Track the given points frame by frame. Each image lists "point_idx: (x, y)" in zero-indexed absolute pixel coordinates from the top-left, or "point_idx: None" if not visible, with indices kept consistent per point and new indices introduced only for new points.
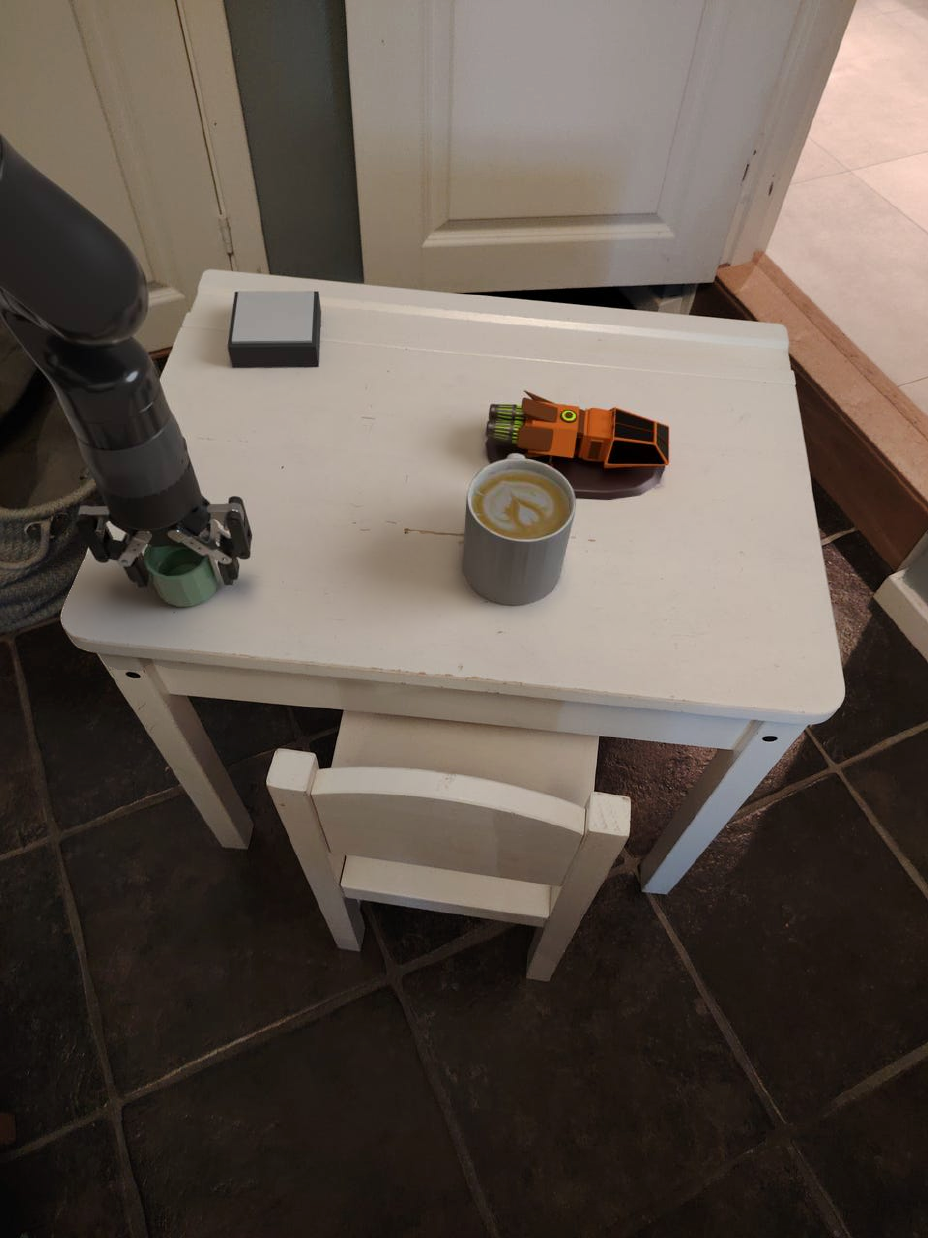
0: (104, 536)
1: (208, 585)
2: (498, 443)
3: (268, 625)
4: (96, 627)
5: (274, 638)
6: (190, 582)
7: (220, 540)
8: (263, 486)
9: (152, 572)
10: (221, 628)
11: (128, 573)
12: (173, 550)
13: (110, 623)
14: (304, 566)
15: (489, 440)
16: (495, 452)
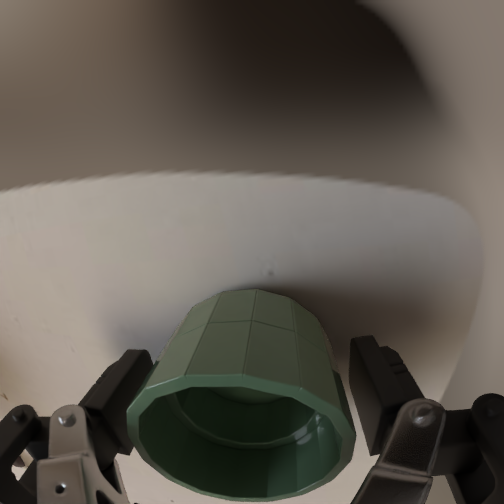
0: (471, 476)
1: (163, 349)
2: None
3: (57, 250)
4: (449, 215)
5: (41, 219)
6: (171, 358)
7: (102, 472)
8: (184, 490)
9: (313, 397)
10: (137, 233)
11: (402, 370)
12: (284, 438)
13: (424, 228)
14: (60, 374)
15: (18, 458)
16: None
